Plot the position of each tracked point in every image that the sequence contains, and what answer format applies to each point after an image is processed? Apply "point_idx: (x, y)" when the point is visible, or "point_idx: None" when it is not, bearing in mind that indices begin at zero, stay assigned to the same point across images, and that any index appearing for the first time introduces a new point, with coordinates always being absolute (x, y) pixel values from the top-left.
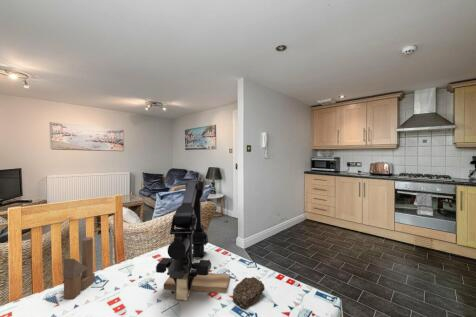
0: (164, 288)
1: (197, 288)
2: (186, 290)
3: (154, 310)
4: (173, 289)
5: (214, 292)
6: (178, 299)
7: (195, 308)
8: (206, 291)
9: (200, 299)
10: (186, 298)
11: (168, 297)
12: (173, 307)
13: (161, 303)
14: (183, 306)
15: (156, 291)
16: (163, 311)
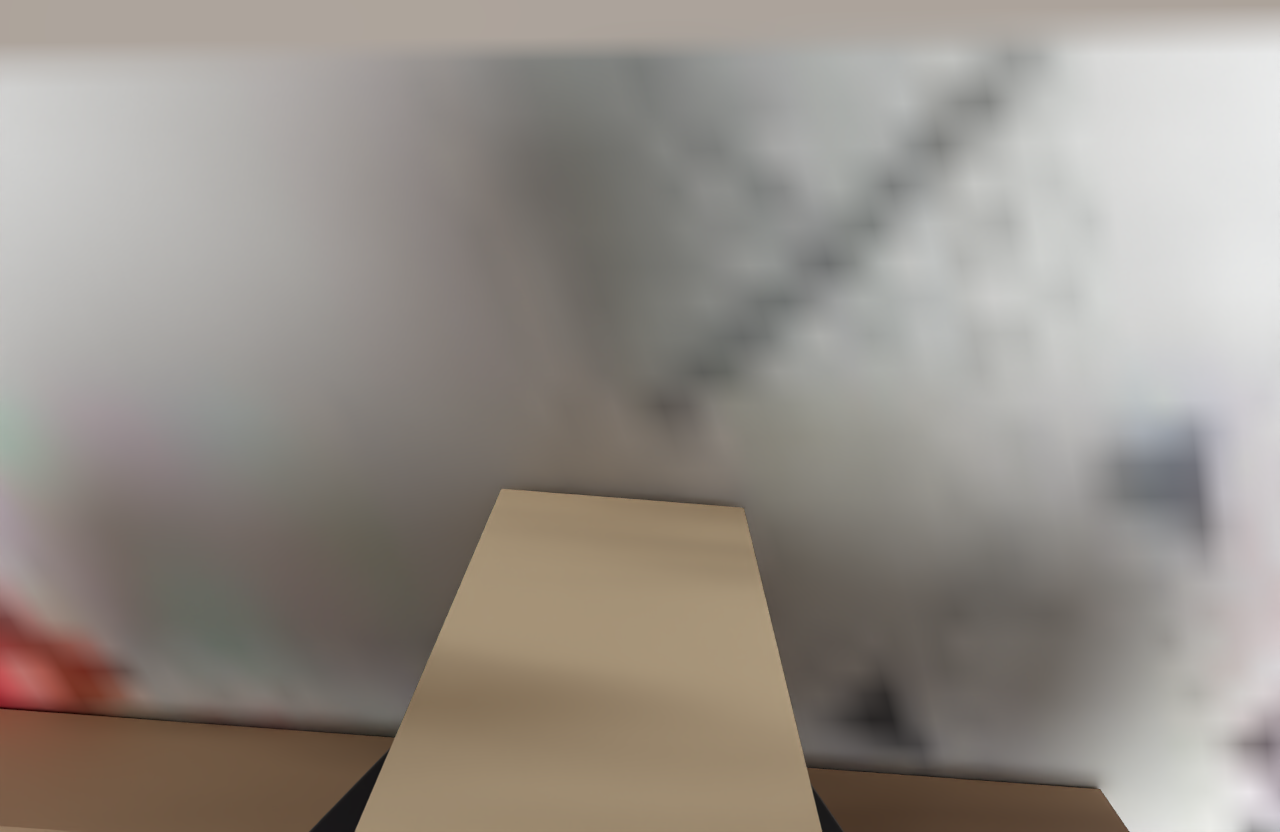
0: (1092, 802)
1: (342, 790)
2: (434, 662)
3: (1252, 117)
4: (890, 780)
5: (3, 709)
6: (696, 506)
7: (160, 221)
8: (168, 730)
9: (194, 521)
10: (495, 516)
11: (951, 574)
12: (748, 247)
13: (1089, 385)
14: (499, 289)
15: (1247, 733)
16: (989, 81)
